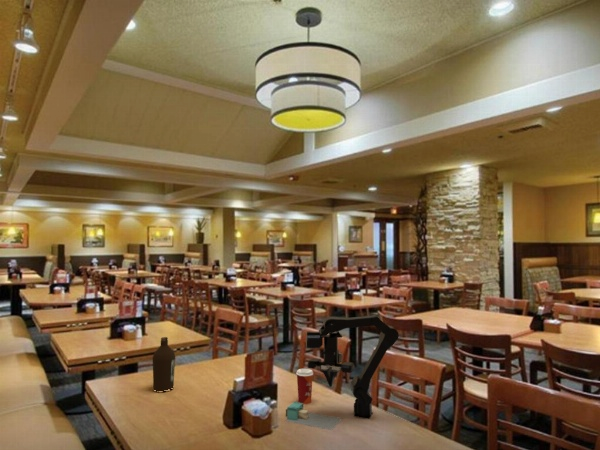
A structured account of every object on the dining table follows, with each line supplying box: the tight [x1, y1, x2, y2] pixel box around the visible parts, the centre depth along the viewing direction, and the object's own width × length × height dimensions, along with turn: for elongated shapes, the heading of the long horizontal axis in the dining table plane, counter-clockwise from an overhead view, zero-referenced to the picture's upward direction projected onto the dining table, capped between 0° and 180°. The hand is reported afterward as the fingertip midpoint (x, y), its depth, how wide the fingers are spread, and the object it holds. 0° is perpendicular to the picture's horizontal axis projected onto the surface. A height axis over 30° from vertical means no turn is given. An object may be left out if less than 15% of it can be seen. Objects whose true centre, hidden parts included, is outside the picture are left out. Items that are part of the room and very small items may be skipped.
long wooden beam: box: [285, 408, 310, 420], centre depth 171 cm, size 9×3×3 cm, turn 67°
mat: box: [284, 412, 343, 431], centre depth 168 cm, size 20×12×1 cm, turn 66°
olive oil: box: [152, 336, 176, 391], centre depth 206 cm, size 11×11×25 cm
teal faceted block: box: [286, 401, 304, 420], centre depth 171 cm, size 4×7×4 cm, turn 156°
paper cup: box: [296, 368, 314, 405], centre depth 188 cm, size 8×8×14 cm
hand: (330, 386), depth 173 cm, fingers closed
